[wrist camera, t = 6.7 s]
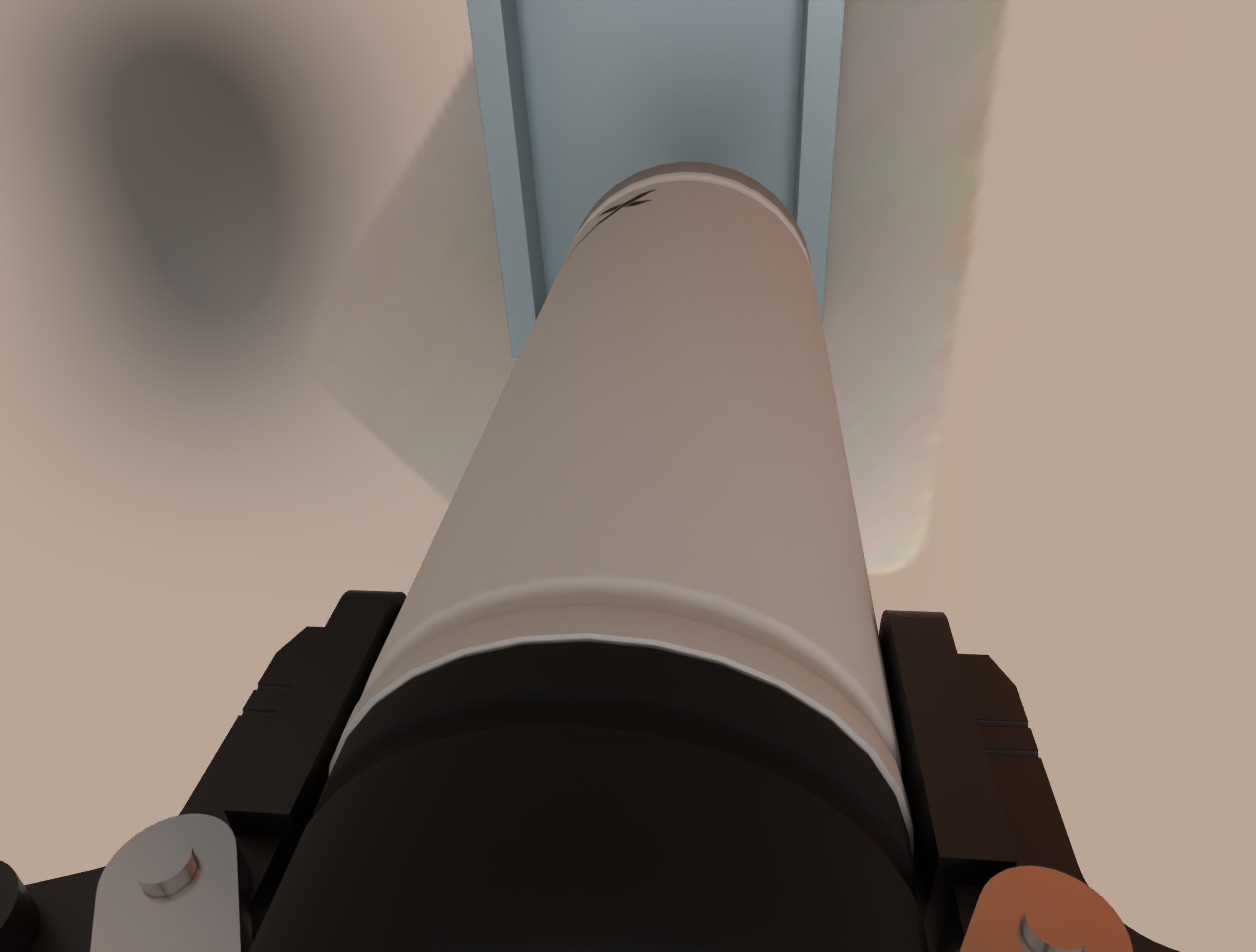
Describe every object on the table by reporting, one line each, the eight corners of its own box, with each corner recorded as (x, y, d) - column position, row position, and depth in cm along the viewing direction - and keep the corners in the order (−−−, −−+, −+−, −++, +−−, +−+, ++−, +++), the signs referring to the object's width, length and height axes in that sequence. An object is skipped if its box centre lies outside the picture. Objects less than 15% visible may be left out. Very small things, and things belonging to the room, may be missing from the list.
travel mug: (567, 137, 22) (27, 931, 5) (838, 181, 22) (1147, 1131, 5) (546, 367, 25) (178, 1286, 9) (781, 406, 25) (855, 1411, 9)
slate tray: (481, -80, 34) (456, -77, 31) (841, -100, 32) (851, -99, 29) (528, 324, 42) (512, 357, 39) (813, 323, 41) (819, 356, 38)
